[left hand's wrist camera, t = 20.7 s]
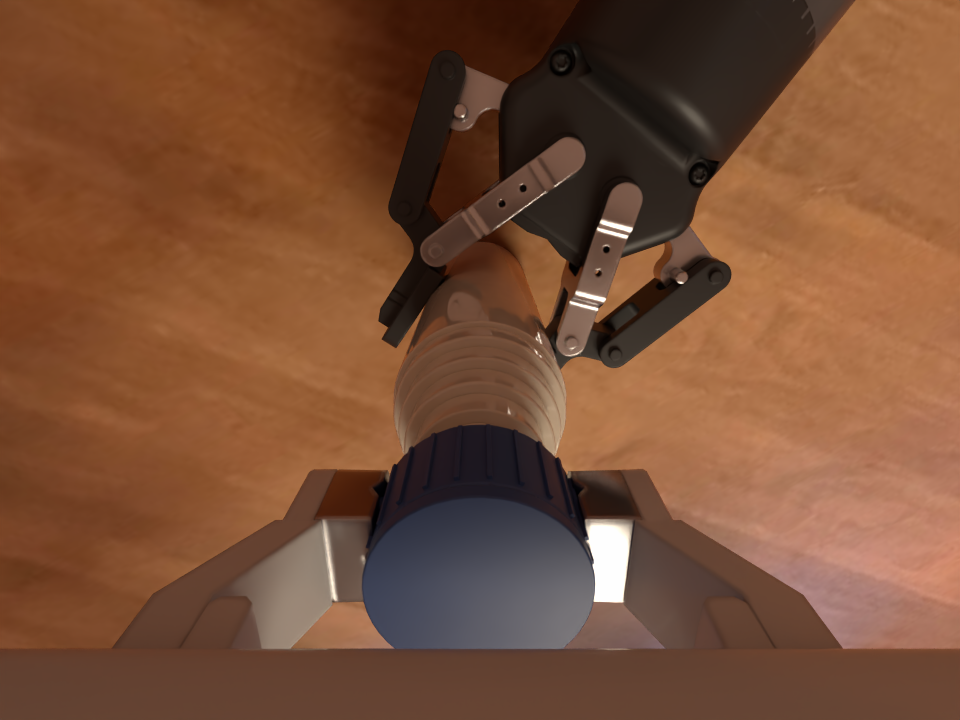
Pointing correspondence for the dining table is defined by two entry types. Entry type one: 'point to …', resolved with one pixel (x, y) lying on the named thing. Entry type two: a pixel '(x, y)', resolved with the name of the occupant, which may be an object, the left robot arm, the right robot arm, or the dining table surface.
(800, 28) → the right robot arm
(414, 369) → the bottle
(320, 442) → the dining table surface
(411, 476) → the cap
